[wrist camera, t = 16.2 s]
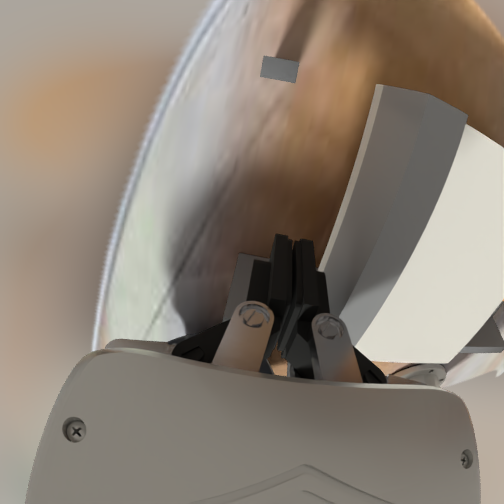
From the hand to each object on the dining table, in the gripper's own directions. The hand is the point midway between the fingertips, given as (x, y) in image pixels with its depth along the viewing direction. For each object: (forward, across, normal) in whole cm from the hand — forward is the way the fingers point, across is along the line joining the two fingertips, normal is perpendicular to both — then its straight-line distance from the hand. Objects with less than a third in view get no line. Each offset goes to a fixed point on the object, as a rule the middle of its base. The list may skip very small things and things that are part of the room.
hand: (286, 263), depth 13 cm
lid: (+2, -10, 0) cm, 10 cm away
